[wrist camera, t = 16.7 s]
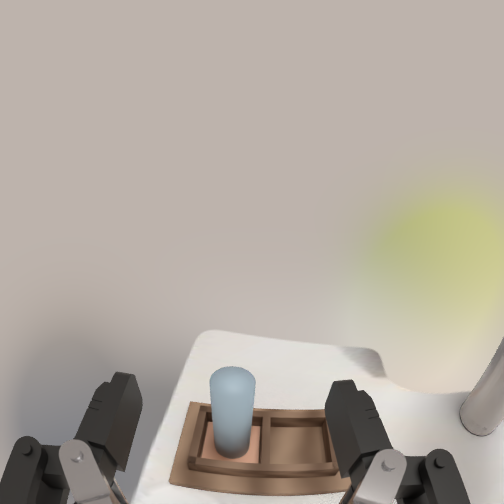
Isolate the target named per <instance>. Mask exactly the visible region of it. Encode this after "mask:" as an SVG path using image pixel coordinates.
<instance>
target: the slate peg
mask: <svg viewBox="0 0 504 504" xmlns="http://www.w3.org/2000/svg"><path fill="white" fill-rule="evenodd" d="M255 384H256V382H255V378H254V376H253V375H252V374H251V373H250V372H249V371H247V370H246V369H243V368H240V367H233V366H232V367H224V368H221V369H219V370H217V371H215V372H214V373H213V374H212V376H211V378H210V395H211V408H212V420H213V431H214V442H215V448H216V451H217V452H218V453H219V454H220V455H221V456H223V457H225V458H230V459H235V458H240V457H242V456H244V455H245V454H246V453H247V452H248V450H249V446H250V436H251V426H252V416H253V405H254V395H255Z"/></svg>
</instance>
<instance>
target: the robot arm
mask: <svg viewBox="0 0 504 504" xmlns="http://www.w3.org/2000/svg"><path fill="white" fill-rule="evenodd" d="M88 407H89V408H88V409H87V411H86V413H85V415H84V418H83V420H82V422H81V424H80V427H79V429H78V432H77V434H76V436H75V438H74V439H73V440H69V441H67V442H65V443H64V444H63V445H62V446H52V445H41V444H40V443H39V442H38V441H37V440H36V439H35V438H33V437H30V436H24V437H21V438H20V439H18V440H17V441H16V443H15V445H14V447H13V450H12V452H11V455H10V458H9V460H8V462H7V465H6V468H5V471H4V473H3V477H2V479H1V482H0V504H67V499H68V495H69V491H70V490H71V492H72V495H73V497H74V500H75V503H74V504H128V502H127V500H126V498H125V496H124V495H123V493H122V491H121V489H120V487H119V485H118V483H117V482H116V480H115V478H114V475H115V472H116V470H119V471H123V472H125V468H126V465H127V461H128V457H129V453H130V449H131V445H132V442H133V438H134V435H135V431H136V428H137V424H138V421H139V418H140V414H141V411H142V396H141V393H140V390H139V387H138V384H137V381H136V378H135V375H133V374H128V373H122V372H116V373H115V374H114V376H113V378H112V380H111V382H110V383H108V382H104V383H103V384H101V385H100V386H99V387H98V388H97V389H96V391H95V393H94V395H93V398H92V401H91V402H90V404H89V406H88ZM325 417H326V421H327V425H328V428H329V432H330V436H331V440H332V444H333V448H334V452H335V456H336V460H337V464H338V468H339V472H340V476H341V479H342V478H347V477H350V479H351V484H350V485H349V487H348V489H347V491H346V492H345V494H344V496H343V498H342V499H341V501H340V503H339V504H392V503H393V500H394V499H396V500H397V504H470V501H469V498H468V495H467V492H466V489H465V487H464V484H463V481H462V479H461V476H460V473H459V471H458V468H457V466H456V463H455V461H454V459H453V456H452V455H451V454H450V453H449V452H448V451H446V450H444V449H436V450H433V451H431V452H430V453H429V454H428V455H427V456H404V455H403V454H402V453H401V452H399V451H397V450H394V449H393V447H392V445H391V443H390V441H389V438H388V436H387V433H386V431H385V428H384V426H383V423H382V421H381V419H380V418H379V414H378V411H377V410H376V407H375V404H374V402H373V400H372V398H371V397H370V396H369V395H368V394H367V393H366V392H365V391H364V390H361V391H357V388H356V386H355V383H354V381H353V380H342V381H334V382H333V384H332V387H331V389H330V392H329V395H328V398H327V400H326V403H325ZM460 417H461V420H462V423H463V424H464V426H465V427H466V428H467V429H468V430H469V431H470V432H472V433H473V434H476V435H480V436H485V435H488V434H490V433H492V432H493V431H494V430H495V428H496V427H497V426H498V425H499V424H500V423H501V421H502V420H503V419H504V338H503V339H502V342H501V344H500V345H499V347H498V349H497V351H496V353H495V355H494V357H493V358H492V360H491V362H490V363H489V365H488V367H487V369H486V370H485V372H484V374H483V375H482V377H481V378H480V380H479V382H478V383H477V385H476V386H475V388H474V389H473V390H472V392H471V393H470V395H469V396H468V398H467V399H466V401H465V402H464V403H463V405H462V407H461V410H460Z"/></svg>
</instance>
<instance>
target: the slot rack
mask: <svg viewBox="0 0 504 504" xmlns="http://www.w3.org/2000/svg"><path fill="white" fill-rule="evenodd" d="M169 482H170V484H173V485H178V486H183V487H189V488H194V489H200V490H207V491H214V492H222V493H232V494H244V495H265V496H294V495H314V494H327V493H336V492H344V491H347V489H348V487H349V485H350V484H351V479H350V477H347V478H342V479H341V476H340V472H339V468H338V464H337V460H336V456H335V452H334V448H333V444H332V440H331V436H330V432H329V428H328V425H327V421H326V417H325V409H322V410H279V409H257V408H253V416H252V426H251V436H250V446H249V450H248V452H247V453H246V454H245V455H244V456H242V457H240V458H235V459H230V458H225V457H223V456H221V455H220V454H219V453H218V452H217V451H216V448H215V442H214V431H213V420H212V408H211V404H205V403H198V402H191V401H190V405H189V408H188V412H187V415H186V419H185V423H184V426H183V430H182V434H181V437H180V441H179V445H178V449H177V452H176V456H175V460H174V464H173V467H172V471H171V475H170V479H169Z"/></svg>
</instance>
